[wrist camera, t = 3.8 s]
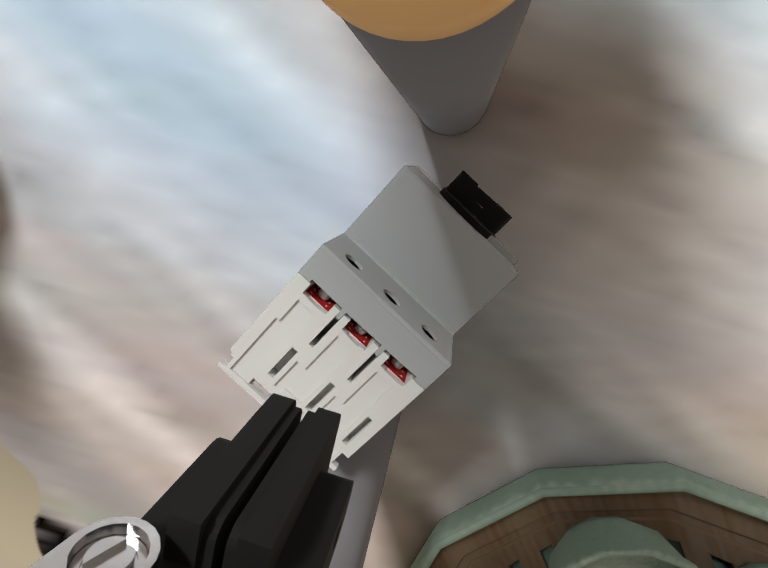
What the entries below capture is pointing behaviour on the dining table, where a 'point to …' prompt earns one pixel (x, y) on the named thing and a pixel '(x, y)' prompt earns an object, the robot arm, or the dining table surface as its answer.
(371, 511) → the post
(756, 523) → the tea set
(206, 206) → the dining table surface
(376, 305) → the circuit breaker
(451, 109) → the post
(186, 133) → the dining table surface
